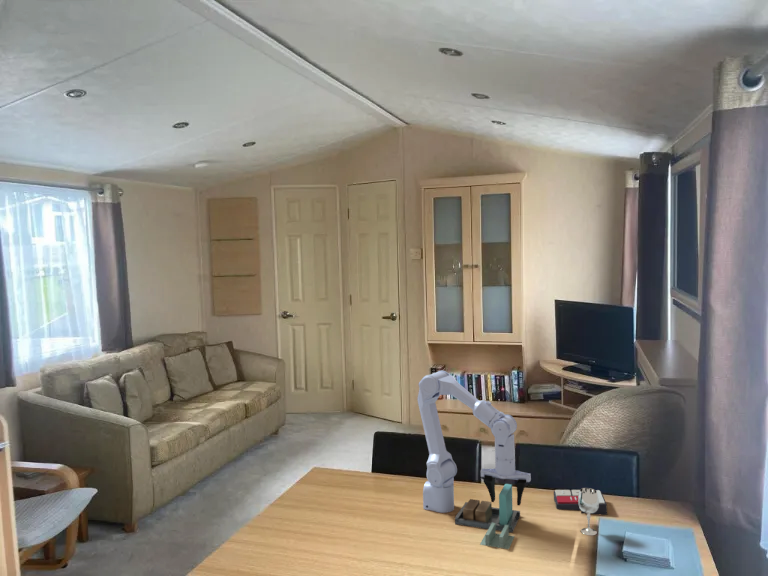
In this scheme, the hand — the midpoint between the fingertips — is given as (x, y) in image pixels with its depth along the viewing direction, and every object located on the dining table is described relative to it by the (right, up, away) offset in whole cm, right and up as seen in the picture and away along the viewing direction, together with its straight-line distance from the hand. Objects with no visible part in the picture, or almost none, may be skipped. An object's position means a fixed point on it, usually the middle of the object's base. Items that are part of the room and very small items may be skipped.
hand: (506, 502), depth 178 cm
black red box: (+26, -6, +13) cm, 30 cm away
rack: (-4, -7, +2) cm, 9 cm away
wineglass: (+23, -7, -5) cm, 24 cm away
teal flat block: (0, -6, 0) cm, 6 cm away
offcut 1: (-10, -6, +4) cm, 12 cm away
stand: (-5, -8, -11) cm, 14 cm away
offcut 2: (-6, -6, +3) cm, 9 cm away
